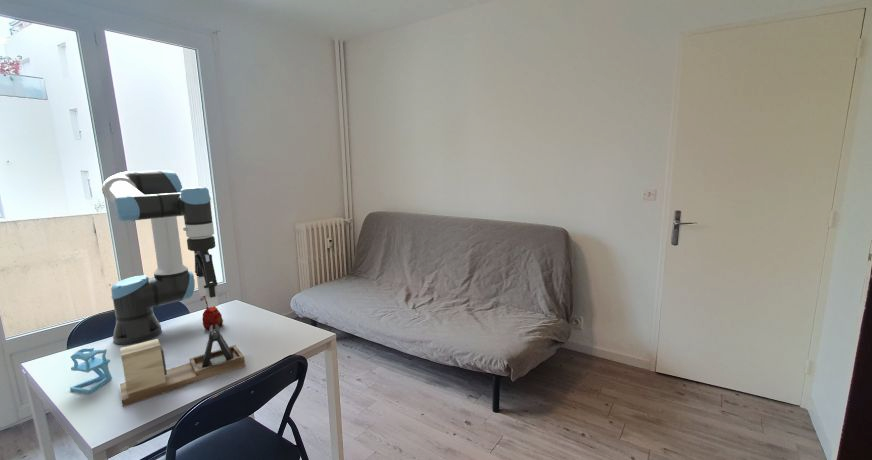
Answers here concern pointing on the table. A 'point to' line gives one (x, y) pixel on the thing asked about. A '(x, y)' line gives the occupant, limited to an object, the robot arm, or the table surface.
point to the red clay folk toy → (211, 317)
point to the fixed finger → (143, 365)
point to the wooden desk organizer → (185, 376)
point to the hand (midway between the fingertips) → (208, 300)
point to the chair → (91, 368)
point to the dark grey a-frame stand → (223, 346)
